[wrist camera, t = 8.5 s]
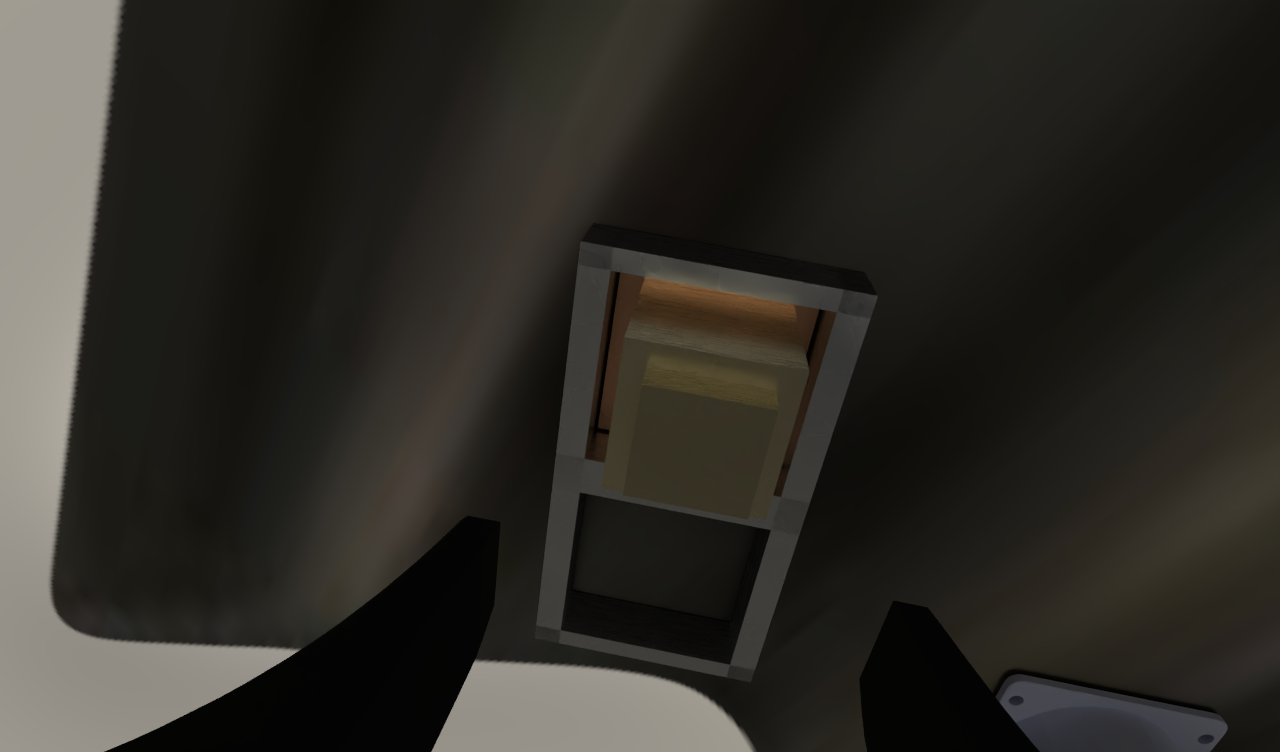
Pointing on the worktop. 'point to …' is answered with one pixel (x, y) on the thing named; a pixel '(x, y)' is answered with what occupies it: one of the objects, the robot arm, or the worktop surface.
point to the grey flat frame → (581, 473)
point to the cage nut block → (705, 400)
